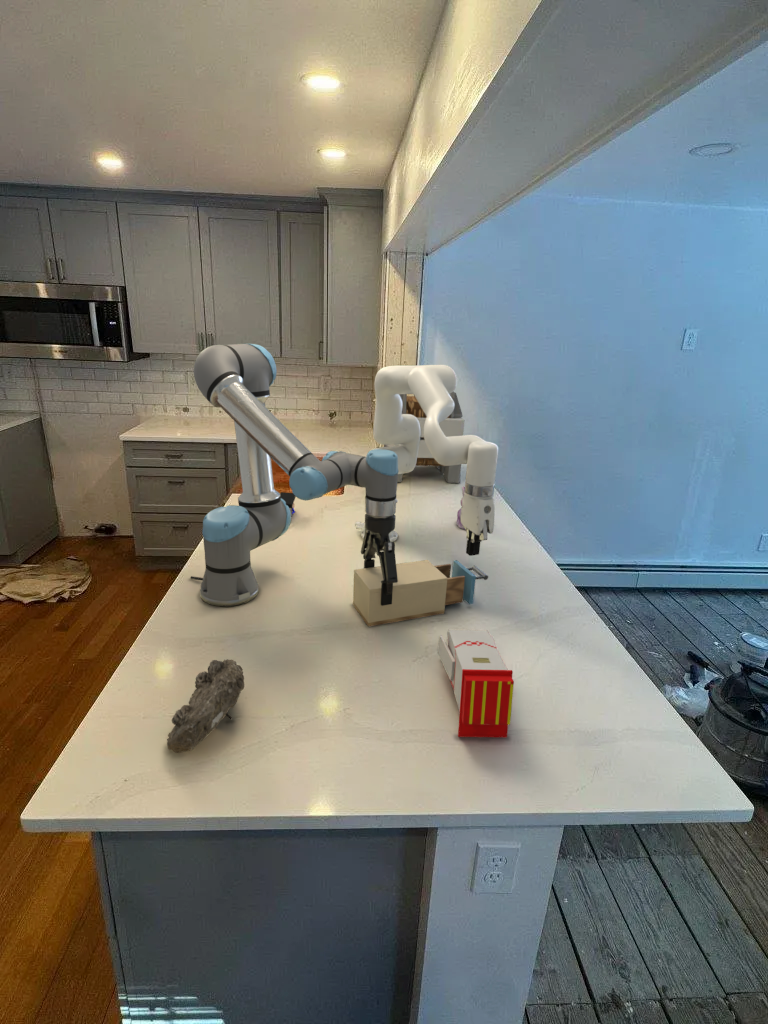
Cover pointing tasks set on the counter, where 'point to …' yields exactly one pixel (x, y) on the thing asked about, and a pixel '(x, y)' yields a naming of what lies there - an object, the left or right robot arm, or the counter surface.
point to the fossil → (206, 705)
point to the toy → (478, 682)
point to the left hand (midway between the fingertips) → (377, 593)
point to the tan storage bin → (400, 593)
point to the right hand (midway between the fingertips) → (472, 553)
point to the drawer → (460, 582)
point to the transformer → (448, 426)
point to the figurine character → (289, 500)
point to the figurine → (460, 511)
